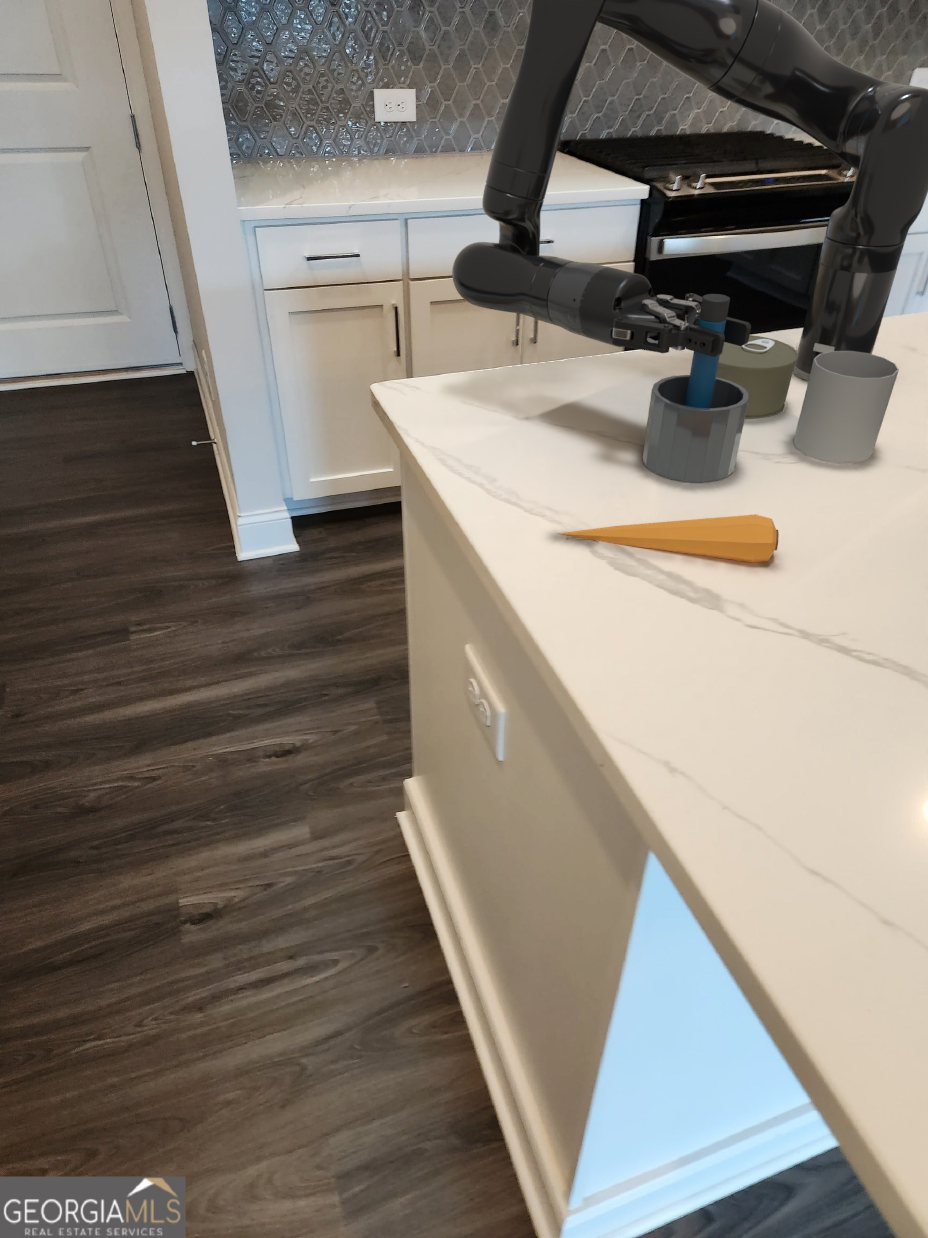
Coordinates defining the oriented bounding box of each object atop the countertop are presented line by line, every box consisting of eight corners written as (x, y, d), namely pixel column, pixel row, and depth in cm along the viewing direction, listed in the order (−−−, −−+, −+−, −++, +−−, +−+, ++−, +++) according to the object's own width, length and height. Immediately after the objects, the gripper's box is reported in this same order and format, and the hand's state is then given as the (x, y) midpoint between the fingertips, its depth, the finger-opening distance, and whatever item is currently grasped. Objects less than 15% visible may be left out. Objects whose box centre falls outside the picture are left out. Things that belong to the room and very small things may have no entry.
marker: (685, 454, 92) (712, 291, 82) (705, 461, 91) (735, 297, 80) (671, 461, 91) (697, 297, 80) (691, 469, 89) (720, 302, 79)
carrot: (772, 560, 77) (776, 512, 76) (777, 569, 73) (782, 517, 72) (559, 553, 82) (560, 507, 81) (552, 560, 78) (553, 512, 76)
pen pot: (676, 438, 97) (687, 367, 91) (751, 466, 91) (768, 392, 86) (623, 464, 91) (632, 390, 86) (699, 496, 85) (714, 418, 80)
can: (668, 403, 105) (676, 349, 101) (720, 378, 112) (730, 327, 107) (753, 431, 98) (765, 375, 94) (803, 403, 105) (816, 349, 100)
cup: (876, 470, 90) (905, 381, 84) (797, 464, 91) (820, 375, 85) (863, 437, 96) (888, 352, 90) (789, 432, 98) (810, 348, 92)
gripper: (557, 279, 85) (699, 316, 75) (643, 255, 92) (782, 286, 82) (553, 352, 89) (686, 396, 79) (635, 323, 97) (766, 360, 87)
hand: (734, 340), depth 81 cm, fingers open, 4 cm apart
